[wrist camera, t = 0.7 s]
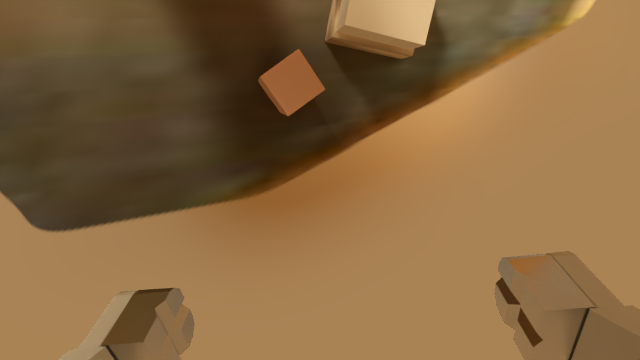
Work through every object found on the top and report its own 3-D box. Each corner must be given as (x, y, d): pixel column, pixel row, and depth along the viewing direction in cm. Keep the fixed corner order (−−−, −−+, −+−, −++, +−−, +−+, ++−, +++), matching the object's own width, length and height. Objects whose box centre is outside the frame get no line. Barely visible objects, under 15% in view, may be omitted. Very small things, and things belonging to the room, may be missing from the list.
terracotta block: (257, 80, 45) (260, 76, 35) (288, 58, 45) (298, 48, 35) (280, 112, 46) (288, 116, 37) (309, 91, 46) (325, 89, 37)
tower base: (339, -47, 44) (349, -63, 39) (416, -24, 46) (433, -37, 42) (324, 42, 46) (332, 36, 41) (398, 59, 48) (412, 55, 44)
